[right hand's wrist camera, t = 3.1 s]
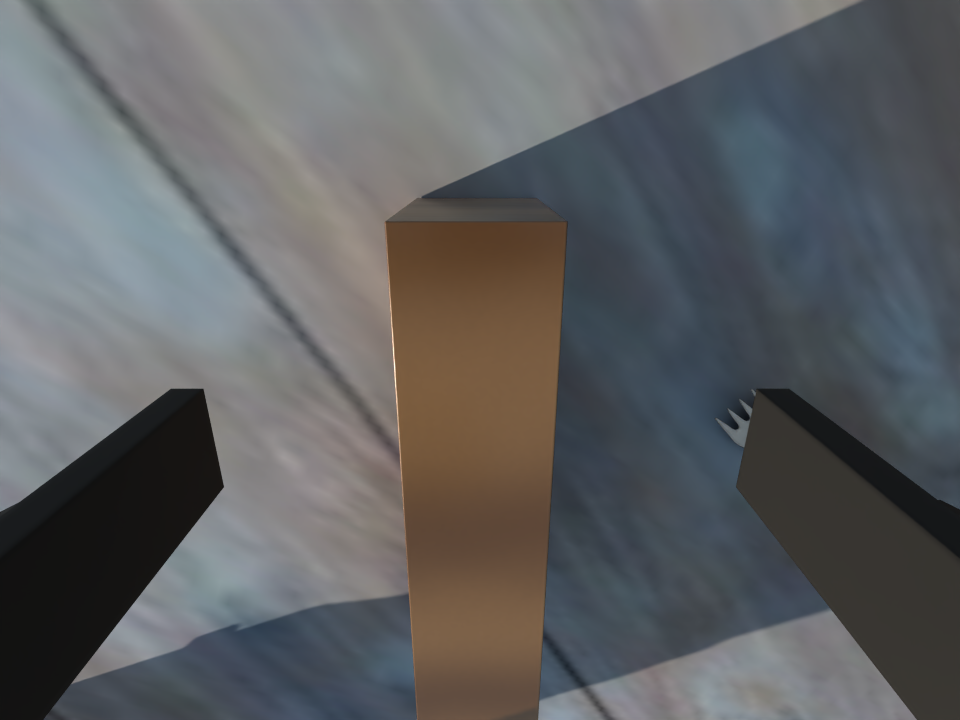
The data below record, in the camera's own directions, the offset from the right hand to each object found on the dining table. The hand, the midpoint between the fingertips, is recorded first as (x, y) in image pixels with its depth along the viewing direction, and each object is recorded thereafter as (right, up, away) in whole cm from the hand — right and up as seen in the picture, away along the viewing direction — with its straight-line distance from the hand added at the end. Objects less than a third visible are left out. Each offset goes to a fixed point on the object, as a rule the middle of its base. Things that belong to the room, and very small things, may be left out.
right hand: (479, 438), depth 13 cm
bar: (0, -1, +15) cm, 15 cm away
